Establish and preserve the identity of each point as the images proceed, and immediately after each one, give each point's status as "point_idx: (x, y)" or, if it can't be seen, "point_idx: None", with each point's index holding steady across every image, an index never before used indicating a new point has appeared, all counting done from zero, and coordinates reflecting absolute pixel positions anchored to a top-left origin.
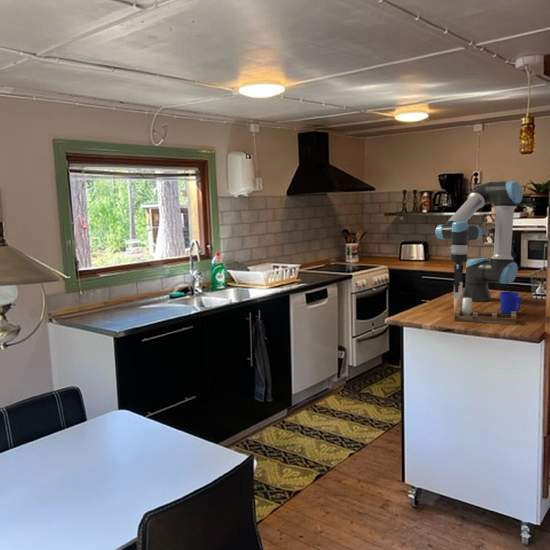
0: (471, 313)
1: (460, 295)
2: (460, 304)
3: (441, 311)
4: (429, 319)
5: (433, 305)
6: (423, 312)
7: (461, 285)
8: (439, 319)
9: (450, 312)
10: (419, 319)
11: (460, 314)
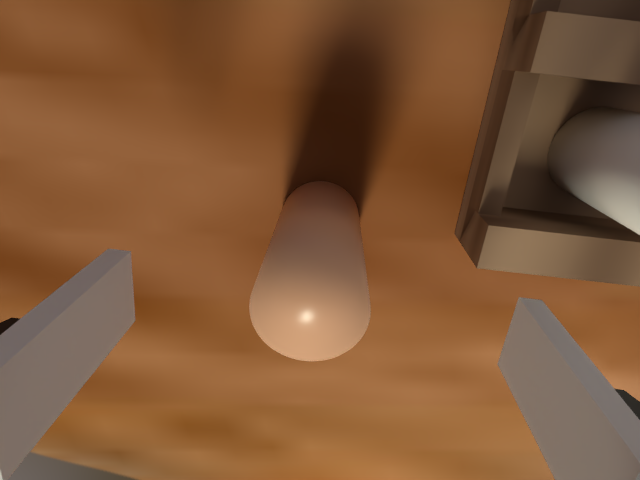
0: (637, 112)
1: (276, 283)
2: (357, 237)
3: (242, 341)
4: None
5: None
6: (314, 451)
7: (38, 347)
8: None
9: None
10: None
11: (541, 216)
